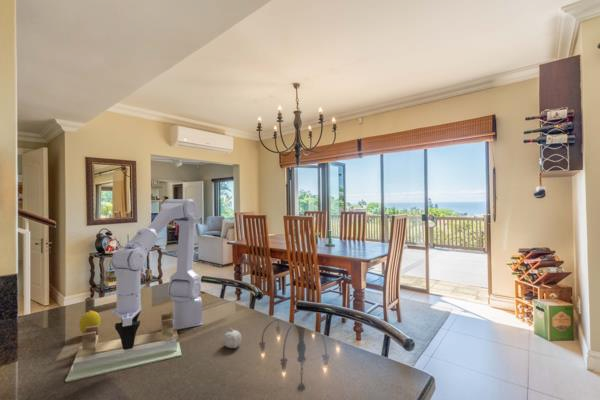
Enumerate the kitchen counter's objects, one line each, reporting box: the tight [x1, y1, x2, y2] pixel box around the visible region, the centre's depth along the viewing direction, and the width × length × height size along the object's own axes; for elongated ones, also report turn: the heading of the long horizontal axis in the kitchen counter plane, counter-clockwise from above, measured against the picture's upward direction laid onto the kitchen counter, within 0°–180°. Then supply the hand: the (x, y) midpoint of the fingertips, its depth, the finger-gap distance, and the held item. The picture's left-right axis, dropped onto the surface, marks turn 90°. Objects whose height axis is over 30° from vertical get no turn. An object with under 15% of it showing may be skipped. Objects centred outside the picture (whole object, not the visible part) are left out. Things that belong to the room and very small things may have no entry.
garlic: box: [222, 327, 242, 349], centre depth 88 cm, size 6×5×5 cm
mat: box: [64, 341, 182, 383], centre depth 80 cm, size 26×8×1 cm, turn 117°
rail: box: [72, 338, 178, 373], centre depth 80 cm, size 24×3×3 cm, turn 117°
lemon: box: [78, 309, 101, 334], centre depth 95 cm, size 6×6×8 cm
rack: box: [74, 313, 179, 359], centre depth 89 cm, size 26×6×6 cm, turn 117°
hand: (129, 342), depth 80 cm, fingers open, 7 cm apart
